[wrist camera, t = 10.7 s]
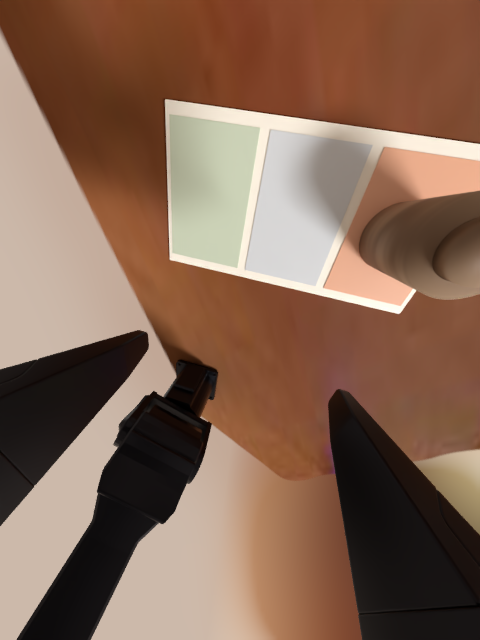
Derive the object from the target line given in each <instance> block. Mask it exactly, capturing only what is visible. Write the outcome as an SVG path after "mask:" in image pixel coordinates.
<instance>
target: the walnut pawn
mask: <svg viewBox="0 0 480 640" xmlns="http://www.w3.org/2000/svg"><path fill="white" fill-rule="evenodd" d="M359 252H360V255H361V257H362V259H363V261H364V262H365V263H366V264H368V265H369V266H371V267H373V268H375V269H376V270H378V271H380V272H382V273H384V274H386V275H388V276H390V277H392V278H394V279H396V280H398V281H399V282H401V283H403V284H405V285H407V286H409V287H411V288H413V289H415V290H417V291H419V292H421V293H422V294H425V295H427V296H429V297H432V298H437V299H445V300H451V299H461V298H467V297H471V296H474V295H478V294H480V191H474V192H467V193H460V194H454V195H447V196H440V197H433V198H426V199H420V200H413V201H406V202H400V203H396V204H393V205H391V206H389V207H387V208H385V209H383V210H382V211H380V212H379V213H378V214H376V215H375V216H374V217H373V218H372V219H371V220H370V221H369V223H368V224H367V225H366V227H365V228H364V230H363V232H362V235H361V238H360V242H359Z"/></svg>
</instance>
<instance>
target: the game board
mask: <svg viewBox="0 0 480 640" xmlns="http://www.w3.org/2000/svg"><path fill="white" fill-rule="evenodd" d="M165 118H166V151H167V184H168V218H169V251H170V260H174V261H178V262H182V263H186V264H190V265H195V266H199V267H203V268H207V269H211V270H216V271H220V272H224V273H228V274H233V275H237V276H241V277H245V278H249V279H254V280H258V281H262V282H266V283H271V284H275V285H279V286H283V287H287V288H292V289H296V290H300V291H304V292H309V293H313V294H317V295H321V296H325V297H330V298H334V299H338V300H342V301H347V302H351V303H355V304H359V305H363V306H368V307H372V308H376V309H380V310H384V311H389V312H393V313H397V314H400V312H401V311H402V310H403V308H404V307H405V305H406V304H407V303H408V301H409V300H410V299H411V297H412V296H413V294H414V293H415V292H416V290H415V289H413V288H411V287H409V286H407V285H405V284H403V283H401V282H399V281H398V280H396V279H394V278H392V277H390V276H388V275H386V274H384V273H382V272H380V271H378V270H376V269H375V268H373V267H371V266H369V265H368V264H366V263H365V262H364V261H363V259H362V257H361V255H360V252H359V242H360V238H361V235H362V232H363V230H364V228H365V227H366V225H367V224H368V223H369V221H370V220H371V219H372V218H373V217H374V216H375V215H376V214H378V213H379V212H380V211H382V210H383V209H385V208H387V207H389V206H391V205H393V204H396V203H400V202H406V201H413V200H420V199H426V198H433V197H440V196H447V195H454V194H460V193H467V192H474V191H480V144H476V143H469V142H462V141H455V140H448V139H441V138H434V137H427V136H420V135H413V134H406V133H399V132H392V131H385V130H378V129H371V128H364V127H357V126H350V125H343V124H336V123H329V122H322V121H315V120H308V119H301V118H294V117H287V116H280V115H273V114H266V113H259V112H252V111H245V110H238V109H231V108H224V107H217V106H210V105H203V104H196V103H189V102H182V101H175V100H168V99H165Z"/></svg>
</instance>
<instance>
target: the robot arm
mask: <svg viewBox="0 0 480 640" xmlns="http://www.w3.org/2000/svg"><path fill="white" fill-rule="evenodd" d="M148 347H149V343H148V334H147V333H146V332H144V331H140V330H137V331H134V332H130V333H127V334H123V335H120V336H116V337H113V338H109V339H106V340H102V341H99V342H95V343H92V344H89V345H85V346H81V347H78V348H74V349H71V350H67V351H64V352H61V353H57V354H53V355H50V356H46V357H43V358H39V359H38V360H32V361H29V362H25V363H22V364H19V365H15V366H12V367H7V368H4V369H0V526H1V525H2V524H3V522H4V521H5V520H6V519H7V518H8V517H9V515H10V514H11V513H12V512H13V511H14V510H15V508H16V507H17V506H18V505H19V504H20V503H21V501H22V500H23V499H24V498H25V497H26V496H27V495H28V493H29V492H30V491H31V490H32V489H33V488H34V485H36V484H37V483H38V481H39V480H40V479H41V478H42V477H43V476H44V475H45V473H46V472H47V471H48V470H49V469H50V468H51V466H52V465H53V464H54V463H55V462H56V461H57V459H58V458H59V457H60V456H61V455H62V454H63V453H64V451H65V450H66V449H67V448H68V447H69V445H70V444H71V443H72V442H73V441H74V440H75V439H76V438H77V436H78V435H79V434H80V433H81V432H82V430H83V429H84V428H85V427H86V426H87V425H88V424H89V422H90V421H91V420H92V419H93V418H94V417H95V415H96V414H97V413H98V412H99V411H100V410H101V409H102V407H103V406H104V405H105V404H106V403H107V402H108V400H109V399H110V398H111V397H112V396H113V395H114V393H115V392H116V391H117V390H118V389H119V388H120V386H121V385H122V384H123V383H124V382H125V381H126V379H127V378H128V377H129V376H130V374H131V373H132V372H133V370H134V369H135V367H136V366H137V364H138V363H139V362H140V360H141V359H142V357H143V356H144V354H145V353H146V352H147V350H148ZM176 372H177V378H176V379H175V381H174V382H173V384H172V385H171V386H170V388H169V389H168V391H167V392H166V394H165V395H164V397H162V396H160V395H158V394H157V392H155V391H153V392H152V393H151V394H150V395H146V396H144V398H143V399H142V400H141V402H140V403H139V404H138V405H137V406H136V407H135V408H134V409H133V410H132V411H131V412H130V413H129V414H128V415H127V416H126V417H125V418H124V419H123V420H122V421H121V423H120V424H119V433H118V435H117V438H116V440H115V442H114V444H113V445H114V446H116V447H118V448H117V450H116V451H115V453H114V454H113V456H112V457H111V459H110V460H109V461H108V463H107V464H106V466H105V467H104V469H103V472H102V475H101V478H100V482H99V486H98V490H97V493H98V496H97V500H96V505H95V510H94V515H93V519H92V522H91V523H90V525H89V527H88V528H87V530H86V531H85V533H84V534H83V536H82V538H81V539H80V541H79V542H78V544H77V545H76V547H75V549H74V550H73V552H72V553H71V555H70V556H69V558H68V559H67V561H66V563H65V564H64V566H63V567H62V569H61V571H60V572H59V574H58V575H57V577H56V578H55V580H54V582H53V583H52V585H51V586H50V588H49V589H48V591H47V593H46V594H45V596H44V597H43V599H42V600H41V602H40V604H39V605H38V607H37V608H36V610H35V611H34V613H33V615H32V616H31V618H30V619H29V621H28V622H27V624H26V626H25V627H24V629H23V630H22V632H21V633H20V635H19V637H18V638H17V640H91V638H92V636H93V634H94V632H95V630H96V628H97V626H98V624H99V621H100V619H101V617H102V615H103V613H104V611H105V609H106V607H107V605H108V603H109V601H110V599H111V597H112V595H113V593H114V591H115V588H116V587H117V585H118V583H119V580H120V578H121V576H122V574H123V572H124V570H125V568H126V566H127V564H128V562H129V560H130V558H131V556H132V554H133V552H134V550H135V548H136V546H137V544H138V542H139V541H140V540H141V539H142V538H143V537H145V536H146V535H147V534H148V533H149V532H150V531H151V530H152V529H153V528H154V527H155V526H156V525H157V524H158V523H161V524H164V523H165V522H166V521H167V520H168V519H169V517H170V516H171V515H172V514H173V513H174V512H175V510H176V507H177V504H178V502H179V500H180V497H181V495H182V493H183V491H184V488H185V486H186V484H187V483H188V484H189V483H191V482H192V480H193V479H194V477H195V475H196V474H197V472H198V470H199V468H200V465H201V463H202V460H203V457H204V454H205V450H206V446H207V442H208V438H209V433H210V429H211V425H212V423H210V422H207V421H205V420H203V419H201V418H200V417H201V415H202V412H203V410H204V408H205V405H206V403H207V400H208V399H210V400H213V399H214V397H215V391H216V384H217V378H218V372H217V371H216V370H213V369H209V368H206V367H202V366H199V365H196V364H192V363H189V362H185V361H182V360H178V361H177V363H176ZM328 410H329V428H330V442H331V449H332V455H333V461H334V467H335V474H336V479H337V486H338V492H339V498H340V504H341V511H342V517H343V522H344V529H345V535H346V541H347V547H348V554H349V560H350V566H351V572H352V578H353V585H354V590H355V596H356V603H357V609H358V613H359V615H358V616H359V623H360V629H361V635H362V640H480V535H479V534H478V533H477V532H476V531H475V530H474V529H473V527H472V526H470V524H469V523H468V522H467V521H466V520H465V519H464V518H463V517H462V516H461V515H460V514H459V512H458V511H457V510H456V509H455V508H454V507H453V506H452V505H451V504H450V503H449V502H448V500H447V499H446V498H445V497H444V496H443V495H442V494H441V493H440V492H439V491H438V490H436V488H435V486H434V485H433V484H432V483H431V482H430V481H429V480H428V479H427V477H426V476H425V475H424V474H423V473H422V472H421V471H420V470H419V469H418V468H417V467H416V465H415V464H414V463H413V462H412V461H411V460H410V459H409V458H408V457H407V456H406V454H405V453H404V452H403V451H402V450H401V449H400V448H399V447H398V446H397V445H396V443H395V442H394V441H393V440H392V439H391V438H390V437H389V436H388V435H387V434H386V432H385V431H384V430H383V429H382V428H381V427H380V426H379V425H378V424H377V423H376V421H375V420H374V419H373V418H372V417H371V416H370V415H369V414H368V413H367V412H366V411H365V409H364V408H363V407H362V406H361V405H360V404H359V403H358V402H357V401H356V400H355V398H354V397H353V396H352V395H351V394H350V393H349V392H347V391H344V390H341V389H338V390H336V391H335V393H334V394H333V396H332V397H331V399H330V400H329V403H328Z"/></svg>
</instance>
